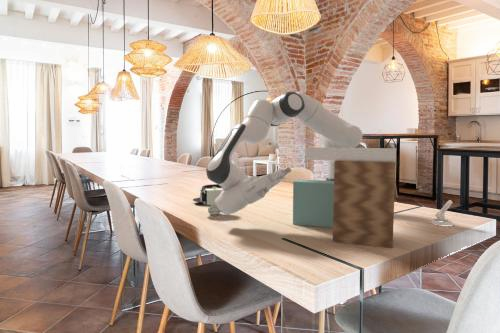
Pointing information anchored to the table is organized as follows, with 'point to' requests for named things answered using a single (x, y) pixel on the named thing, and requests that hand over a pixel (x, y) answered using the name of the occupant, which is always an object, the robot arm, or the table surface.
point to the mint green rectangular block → (313, 203)
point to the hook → (442, 215)
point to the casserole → (206, 188)
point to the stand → (364, 202)
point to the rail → (351, 154)
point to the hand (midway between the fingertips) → (286, 170)
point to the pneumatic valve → (211, 199)
